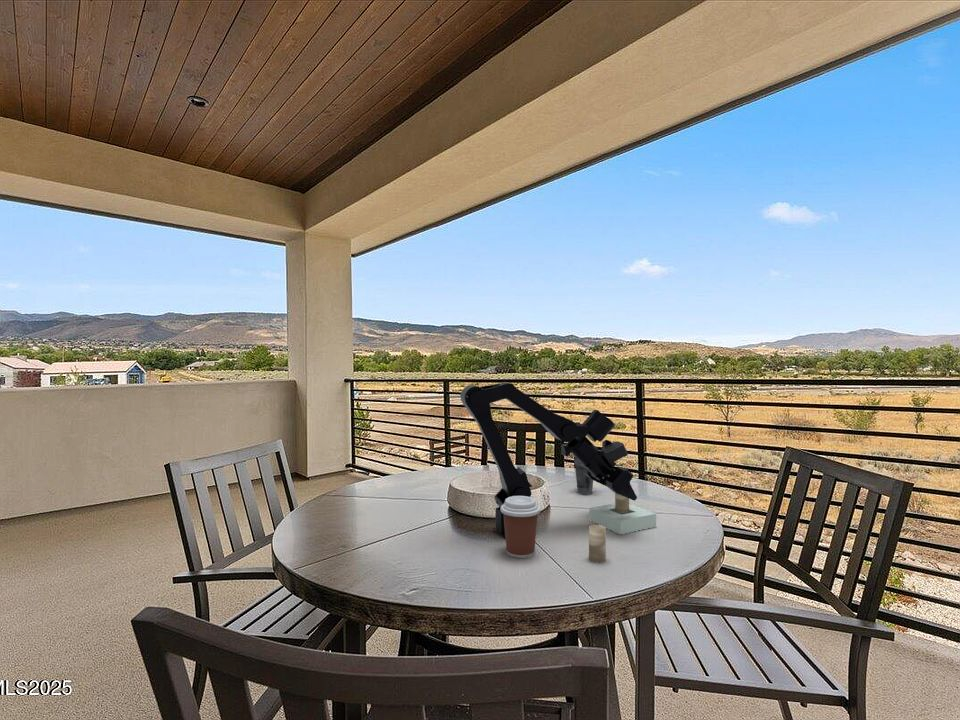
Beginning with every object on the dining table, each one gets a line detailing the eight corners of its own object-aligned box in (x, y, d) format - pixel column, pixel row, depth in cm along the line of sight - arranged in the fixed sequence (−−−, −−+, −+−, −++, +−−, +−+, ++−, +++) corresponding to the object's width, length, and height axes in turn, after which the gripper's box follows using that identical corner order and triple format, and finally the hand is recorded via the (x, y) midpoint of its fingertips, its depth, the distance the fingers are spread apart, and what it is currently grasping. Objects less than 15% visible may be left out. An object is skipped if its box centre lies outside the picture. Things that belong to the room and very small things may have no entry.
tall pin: (628, 526, 129) (628, 473, 129) (614, 525, 131) (613, 472, 131) (630, 522, 133) (630, 470, 133) (616, 520, 134) (616, 469, 134)
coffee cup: (493, 548, 115) (493, 497, 115) (528, 542, 119) (527, 492, 119) (512, 563, 107) (512, 508, 107) (548, 556, 111) (548, 502, 111)
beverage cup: (594, 490, 165) (594, 430, 164) (597, 496, 157) (597, 433, 157) (572, 489, 165) (572, 429, 165) (574, 495, 158) (574, 433, 158)
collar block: (620, 534, 124) (620, 520, 124) (589, 520, 135) (589, 507, 134) (656, 527, 129) (656, 513, 129) (623, 514, 140) (623, 501, 140)
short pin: (596, 563, 107) (596, 531, 107) (585, 557, 110) (585, 526, 110) (609, 560, 108) (609, 528, 108) (598, 554, 111) (598, 523, 111)
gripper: (625, 438, 122) (666, 480, 124) (593, 427, 140) (629, 464, 142) (595, 471, 120) (637, 514, 123) (566, 456, 138) (603, 493, 141)
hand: (626, 494), depth 132 cm, fingers open, 9 cm apart
